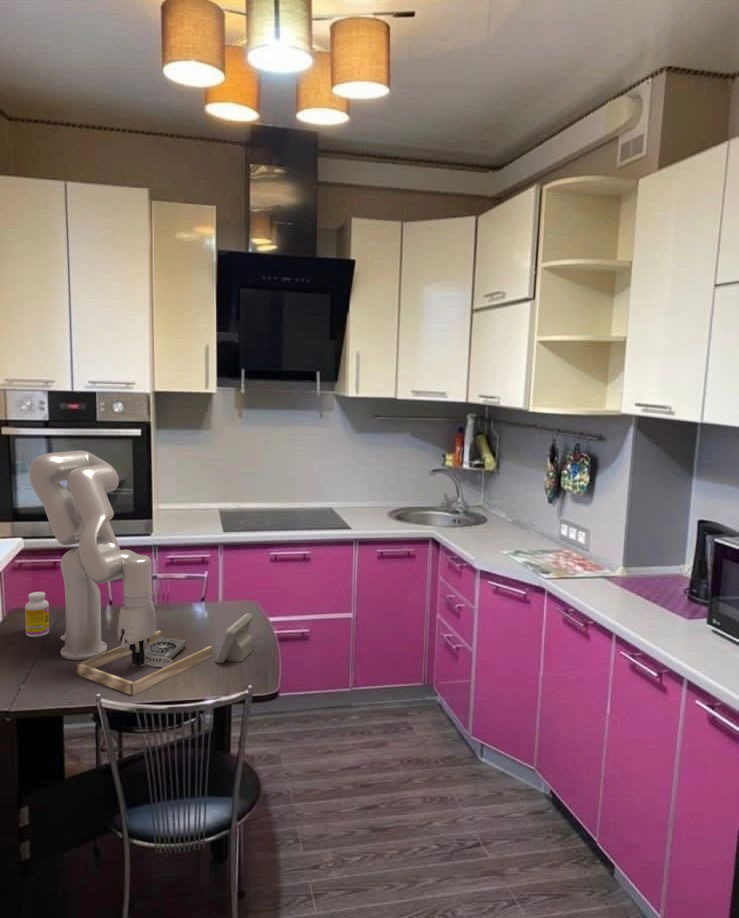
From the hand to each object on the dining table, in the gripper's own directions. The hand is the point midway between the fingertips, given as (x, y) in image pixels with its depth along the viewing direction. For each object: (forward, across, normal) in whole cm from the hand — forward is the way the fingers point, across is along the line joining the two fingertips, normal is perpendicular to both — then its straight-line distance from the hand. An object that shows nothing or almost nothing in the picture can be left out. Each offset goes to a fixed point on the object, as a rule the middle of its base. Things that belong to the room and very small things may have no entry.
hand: (138, 663), depth 189 cm
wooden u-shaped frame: (+2, -3, 0) cm, 4 cm away
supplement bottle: (+2, 0, -45) cm, 45 cm away
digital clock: (+2, -23, +15) cm, 28 cm away
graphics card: (+2, -10, -1) cm, 11 cm away
